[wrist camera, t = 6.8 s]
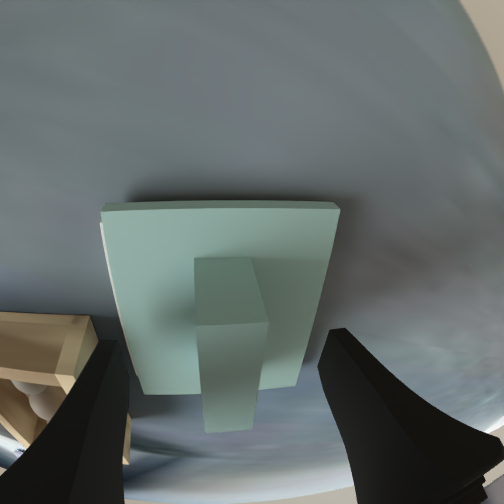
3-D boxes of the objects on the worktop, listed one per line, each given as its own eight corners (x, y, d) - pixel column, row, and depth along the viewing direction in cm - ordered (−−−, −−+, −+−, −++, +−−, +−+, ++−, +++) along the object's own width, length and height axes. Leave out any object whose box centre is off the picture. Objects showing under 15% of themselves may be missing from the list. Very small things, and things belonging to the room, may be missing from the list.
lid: (292, 376, 15) (310, 436, 12) (144, 384, 14) (142, 449, 11) (333, 202, 10) (386, 260, 7) (105, 203, 9) (69, 269, 6)
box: (131, 419, 17) (129, 464, 14) (36, 409, 15) (27, 449, 13) (90, 315, 12) (73, 375, 9) (-28, 309, 11) (-53, 356, 8)
